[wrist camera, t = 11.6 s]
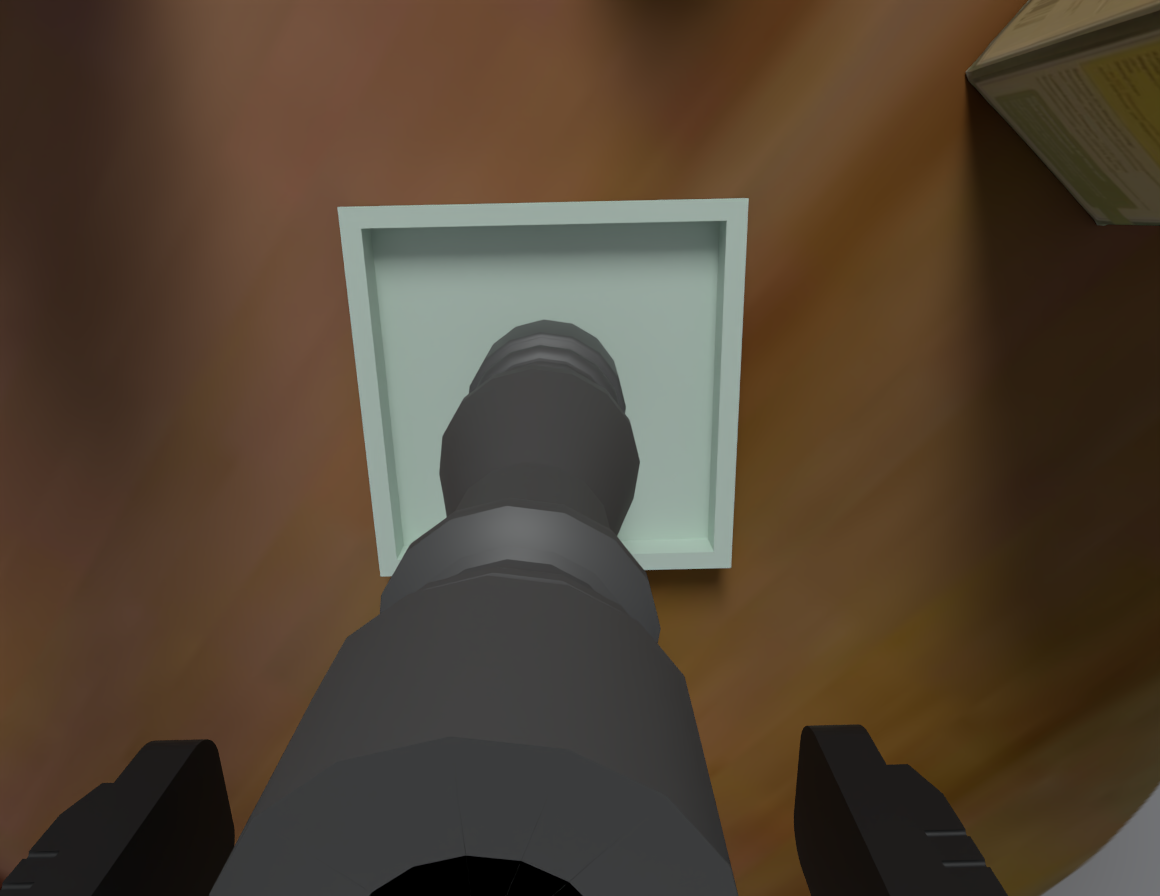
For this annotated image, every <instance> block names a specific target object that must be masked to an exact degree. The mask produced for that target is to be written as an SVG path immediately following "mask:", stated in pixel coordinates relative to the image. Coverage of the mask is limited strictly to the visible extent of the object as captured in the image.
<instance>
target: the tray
mask: <svg viewBox="0 0 1160 896" xmlns="http://www.w3.org/2000/svg"><path fill="white" fill-rule="evenodd" d="M748 201H749V198H733V199H686V200H640V201H594V202H547V203H501V204H455V205H408V206H362V207H338V216H339V224H340V233H341V241H342V250H343V259H344V267H345V276H346V284H347V293H348V301H349V310H350V319H351V327H352V336H353V344H354V353H355V361H356V370H357V379H358V387H359V396H360V404H361V413H362V422H363V430H364V439H365V447H366V456H367V464H368V473H369V482H370V490H371V499H372V507H373V516H374V525H375V533H376V542H377V550H378V559H379V567H380V576H392V575H393V573H394V572H395V570H396V568H397V566H398V565H399V563H400V561H401V559H402V558H403V556H404V554H405V552H406V550H407V549H408V547H409V545H410V544H411V543H412V542H413V541H415V540H416V539H418V538H419V537H420V536H422V535H423V534H424V533H426V532H427V531H429V530H430V529H431V528H433V527H434V526H435V525H437V524H438V523H440V522H441V521H442V520H444V519H445V518H446V517H447V516H446V510H445V504H444V497H443V492H442V487H441V481H440V476H439V469H440V458H441V446H442V436H443V434H444V432H445V431H446V429H447V427H448V425H449V423H450V422H451V420H452V418H453V416H454V414H455V413H456V411H457V409H458V407H459V405H460V404H461V402H462V400H463V398H464V397H465V396H467V395H468V394H469V387H470V384H471V383H472V381H473V379H474V377H475V375H476V374H477V372H478V370H479V368H480V366H481V365H482V363H483V361H484V359H485V357H486V356H487V354H488V352H489V350H490V349H491V347H492V345H493V344H494V343H495V342H497V341H498V340H499V339H500V338H502V337H503V336H504V335H506V334H507V333H508V332H509V331H511V330H512V329H513V328H515V327H517V326H520V325H524V324H528V323H532V322H536V321H540V320H543V319H544V320H551V321H558V322H565V323H572V324H574V325H576V326H577V327H579V328H581V329H583V330H584V331H586V332H588V333H589V334H591V335H593V336H594V337H596V338H597V339H598V340H599V341H600V343H601V344H602V345H603V347H604V348H605V349H606V351H607V352H608V353H609V355H610V356H611V357H612V359H613V360H614V362H615V366H616V369H617V373H618V376H619V380H620V384H621V389H622V393H623V397H624V401H625V405H626V410H625V415H626V416H627V417H628V418H629V420H630V423H631V427H632V431H633V435H634V439H635V443H636V447H637V451H638V456H639V460H640V465H639V471H638V477H637V482H636V488H635V494H634V499H633V501H632V503H631V506H630V508H629V510H628V512H627V514H626V517H625V519H624V521H623V524H622V526H621V528H620V531H619V533H618V536H617V537H618V538H619V540H620V541H621V542H622V543H623V545H624V546H625V547H626V548H627V549H628V551H629V552H630V553H631V554H632V556H633V557H634V558H635V559H636V561H637V562H638V563H639V564H640V565H641V567H642V568H643V569H644V570H665V569H706V568H731V557H732V536H733V515H734V494H735V473H736V452H737V431H738V410H739V389H740V368H741V347H742V326H743V305H744V285H745V264H746V243H747V222H748Z"/></svg>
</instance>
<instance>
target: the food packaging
mask: <svg viewBox="0 0 1160 896" xmlns="http://www.w3.org/2000/svg"><path fill="white" fill-rule="evenodd" d="M966 75H967V78H968V81H969V82H970V83H971V84H972V85H973V86H974V87H975V88H976V89H977V90H978V91H979V93H980V94H981V95H982V96H983V97H984V98H985V99H986V101H987V102H988V103H989V104H990V105H991V106H992V107H993V108H994V109H995V110H996V111H997V112H998V113H999V114H1000V115H1001V116H1002V117H1003V119H1004V120H1005V121H1006V122H1007V123H1008V124H1009V125H1010V126H1011V127H1012V128H1013V129H1014V130H1015V132H1016V133H1017V134H1018V135H1019V136H1020V137H1021V138H1022V139H1023V140H1024V141H1025V142H1026V144H1027V145H1028V146H1029V147H1030V148H1031V149H1032V150H1033V151H1034V152H1035V153H1036V155H1037V156H1038V157H1039V158H1040V159H1041V160H1042V162H1043V163H1044V164H1045V165H1046V166H1047V167H1048V168H1049V170H1050V171H1051V172H1052V173H1053V174H1054V175H1055V176H1056V177H1057V179H1058V180H1059V181H1060V182H1061V183H1062V184H1063V185H1064V186H1065V187H1066V189H1067V190H1068V191H1069V192H1070V193H1071V194H1072V196H1073V197H1074V198H1075V199H1076V200H1077V201H1078V203H1079V204H1080V205H1081V206H1082V207H1083V208H1084V209H1085V210H1086V211H1087V212H1088V213H1089V215H1090V216H1091V217H1092V218H1093V219H1094V221H1095V222H1096V224H1097V225H1102V226H1105V225H1107V224H1113V225H1152V226H1160V0H1029V1H1028V2H1027V3H1026V4H1025V5H1024V6H1023V7H1022V9H1021V10H1020V11H1019V12H1018V13H1017V14H1016V15H1015V17H1014V18H1013V19H1012V20H1011V21H1010V22H1009V23H1008V24H1007V26H1006V27H1005V28H1004V29H1003V30H1002V31H1001V32H1000V33H999V34H998V35H997V37H996V38H995V39H994V40H993V41H992V42H991V43H990V44H989V46H988V47H987V48H986V50H985V51H984V52H983V53H982V54H981V56H980V57H979V58H978V59H977V60H976V61H975V62H974V63H973V65H972V66H971V67H970V68H969V69H968V70H967V71H966Z"/></svg>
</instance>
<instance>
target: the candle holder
mask: <svg viewBox="0 0 1160 896" xmlns="http://www.w3.org/2000/svg"><path fill="white" fill-rule="evenodd" d="M625 410H626V405H625V401H624V397H623V393H622V389H621V384H620V380H619V376H618V373H617V369H616V366H615V362H614V360H613V359H612V357H611V356H610V355H609V353H608V352H607V351H606V349H605V348H604V347H603V345H602V344H601V343H600V341H599V340H598V339H597V338H596V337H594V336H593V335H591V334H589V333H588V332H586V331H584V330H583V329H581V328H579V327H577V326H576V325H574V324H572V323H565V322H558V321H551V320H544V319H543V320H540V321H536V322H532V323H528V324H524V325H520V326H517V327H515V328H513V329H512V330H511V331H509V332H508V333H507V334H506V335H504V336H503V337H502V338H500V339H499V340H498V341H497V342H495V343H494V344H493V345H492V347H491V349H490V350H489V352H488V354H487V356H486V357H485V359H484V361H483V363H482V365H481V366H480V368H479V370H478V372H477V374H476V375H475V377H474V379H473V381H472V383H471V384H470V387H469V394H468V395H467V396H465V397H464V398H463V400H462V402H461V404H460V405H459V407H458V409H457V411H456V413H455V414H454V416H453V418H452V420H451V422H450V423H449V425H448V427H447V429H446V431H445V432H444V434H443V436H442V446H441V458H440V469H439V476H440V481H441V487H442V492H443V497H444V504H445V510H446V516H447V517H446V518H445V519H444V520H442V521H441V522H440V523H438V524H437V525H435V526H434V527H433V528H431V529H430V530H429V531H427V532H426V533H424V534H423V535H422V536H420V537H419V538H418V539H416V540H415V541H413V542H412V543H411V544H410V545H409V547H408V549H407V550H406V552H405V554H404V556H403V558H402V559H401V561H400V563H399V565H398V566H397V568H396V570H395V572H394V573H393V575H392V577H391V579H390V580H389V582H388V584H387V586H386V587H385V589H384V591H383V593H382V595H381V606H380V614H379V615H378V616H377V617H375V618H374V619H372V620H371V621H369V622H368V623H367V624H365V625H364V626H362V627H361V628H360V629H358V630H357V631H355V632H354V633H353V634H351V635H350V636H348V637H347V638H346V640H345V642H344V643H343V645H342V647H341V649H340V650H339V652H338V654H337V656H336V658H335V659H334V661H333V663H332V665H331V666H330V668H329V670H328V672H327V674H326V675H325V677H324V679H323V681H322V682H321V684H320V686H319V688H318V689H317V691H316V693H315V695H314V697H313V698H312V700H311V702H310V704H309V706H308V708H307V710H306V712H305V714H304V716H303V717H302V719H301V721H300V723H299V725H298V727H297V729H296V731H295V733H294V735H293V736H292V738H291V740H290V742H289V744H288V746H287V748H286V750H285V752H284V753H283V755H282V757H281V759H280V761H279V763H278V765H277V767H276V769H275V771H274V772H273V774H272V776H271V778H270V780H269V782H268V784H267V786H266V788H265V790H264V791H263V793H262V795H261V797H260V799H259V801H258V803H257V805H256V807H255V809H254V810H253V812H252V814H251V816H250V818H249V820H248V822H247V824H246V826H245V827H244V829H243V831H242V833H241V835H240V837H239V839H238V841H237V843H236V845H235V846H234V848H233V850H232V852H231V854H230V856H229V858H228V860H227V862H226V864H225V865H224V867H223V869H222V871H221V873H220V875H219V877H218V879H217V881H216V883H215V884H214V886H213V888H212V890H211V892H210V894H209V896H738V893H737V889H736V885H735V880H734V876H733V872H732V868H731V864H730V860H729V856H728V852H727V848H726V843H725V839H724V835H723V831H722V827H721V823H720V819H719V815H718V811H717V806H716V802H715V798H714V794H713V790H712V786H711V782H710V778H709V774H708V769H707V765H706V761H705V757H704V753H703V749H702V745H701V741H700V737H699V733H698V729H697V725H696V721H695V717H694V713H693V709H692V705H691V701H690V697H689V693H688V689H687V685H686V681H685V677H684V675H683V674H682V673H681V672H680V670H679V669H678V668H677V667H676V666H675V664H674V663H673V662H672V661H671V660H670V658H669V657H668V656H667V655H666V654H665V652H664V651H663V650H662V649H661V648H660V646H659V645H658V644H657V643H658V638H659V633H660V624H659V620H658V616H657V612H656V608H655V604H654V601H653V597H652V593H651V589H650V585H649V581H648V577H647V574H646V572H645V570H644V569H643V568H642V567H641V565H640V564H639V563H638V562H637V561H636V559H635V558H634V557H633V556H632V554H631V553H630V552H629V551H628V549H627V548H626V547H625V546H624V545H623V543H622V542H621V541H620V540H619V538H618V537H617V536H618V533H619V531H620V528H621V526H622V524H623V521H624V519H625V517H626V514H627V512H628V510H629V508H630V506H631V503H632V501H633V499H634V494H635V488H636V482H637V477H638V471H639V465H640V460H639V456H638V451H637V447H636V443H635V439H634V435H633V431H632V427H631V423H630V420H629V418H628V417H627V416H626V415H625Z"/></svg>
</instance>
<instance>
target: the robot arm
mask: <svg viewBox="0 0 1160 896" xmlns="http://www.w3.org/2000/svg"><path fill="white" fill-rule="evenodd" d="M794 831H795V840H796V846H797V852H798V856H799V860H800V864H801V867H802V870H803V873H804V876H805V879H806V882H807V884H808V887H809V890H810V893H811V896H1008V895H1007V893H1006V892H1005V890H1004V889H1003V887H1002V886H1001V884H1000V882H999V881H998V879H997V878H996V876H995V875H994V873H993V872H992V870H991V868H990V867H986V865H985V859H984V857H983V856H982V854H981V853H980V851H979V850H978V848H977V847H976V845H975V843H974V842H973V840H972V839H971V837H970V836H967V835H966V832H965V828H964V826H963V825H962V823H961V822H960V820H959V818H958V817H957V815H956V814H955V812H954V811H953V809H952V807H951V806H950V804H949V803H948V801H947V800H946V798H945V797H944V795H943V794H942V793H941V792H940V791H939V790H938V789H937V788H935V787H934V786H933V785H932V784H931V783H929V782H928V781H927V780H926V779H925V778H924V777H922V776H921V775H920V774H919V773H918V772H916V771H915V770H914V769H913V768H912V767H911V766H909V765H908V764H900V765H886V763H885V761H884V760H883V758H882V756H881V754H880V753H879V751H878V749H877V747H876V746H875V744H874V742H873V740H872V739H871V737H870V735H869V733H868V732H867V730H866V729H865V728H864V727H863V726H862V725H820V726H805V727H804V728H803V730H802V734H801V740H800V751H799V762H798V774H797V785H796V796H795V808H794ZM234 840H235V833H234V824H233V819H232V815H231V810H230V805H229V800H228V796H227V791H226V786H225V781H224V777H223V772H222V767H221V762H220V758H219V753H218V749H217V747H216V745H215V744H214V742H213V741H211V740H208V739H205V740H166V741H151V742H149V743H147V744H146V745H145V746H144V747H143V748H142V749H141V750H140V751H139V752H138V753H137V755H136V756H135V757H134V758H133V760H132V761H131V762H130V763H129V765H128V766H127V767H126V768H125V770H124V771H123V772H122V773H121V775H120V776H119V777H118V778H117V780H116V781H115V782H114V783H102V784H101V785H99V786H98V787H96V788H95V789H94V790H92V791H91V792H90V793H88V794H87V795H86V796H84V797H83V798H82V799H80V800H79V801H78V802H76V803H75V804H74V805H72V806H71V807H70V808H68V809H67V810H66V811H64V812H63V813H62V814H60V815H59V817H58V818H57V819H56V820H55V821H54V822H53V824H52V825H51V826H50V827H49V828H48V830H47V831H46V832H45V833H44V834H43V835H42V837H41V838H40V839H39V840H38V841H37V843H36V844H35V845H34V846H33V847H32V848H31V850H30V851H29V856H28V858H27V859H22V860H21V861H20V863H19V864H18V865H17V866H16V867H15V869H14V870H13V871H12V872H11V873H10V874H9V876H8V877H7V878H6V879H5V880H4V882H3V883H2V884H3V885H2V888H1V890H0V896H209V894H210V892H211V890H212V888H213V886H214V884H215V883H216V881H217V879H218V877H219V875H220V873H221V871H222V869H223V867H224V865H225V864H226V862H227V860H228V858H229V856H230V854H231V852H232V850H233V848H234Z"/></svg>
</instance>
